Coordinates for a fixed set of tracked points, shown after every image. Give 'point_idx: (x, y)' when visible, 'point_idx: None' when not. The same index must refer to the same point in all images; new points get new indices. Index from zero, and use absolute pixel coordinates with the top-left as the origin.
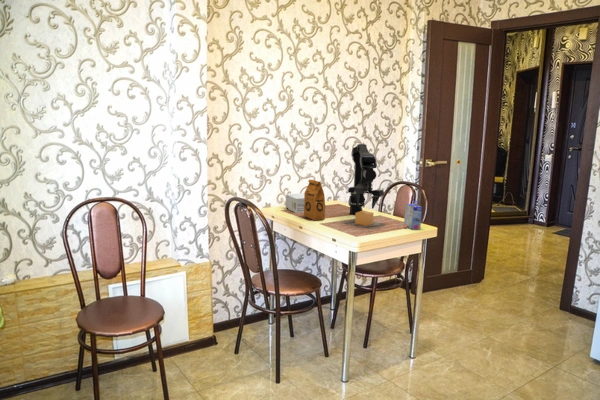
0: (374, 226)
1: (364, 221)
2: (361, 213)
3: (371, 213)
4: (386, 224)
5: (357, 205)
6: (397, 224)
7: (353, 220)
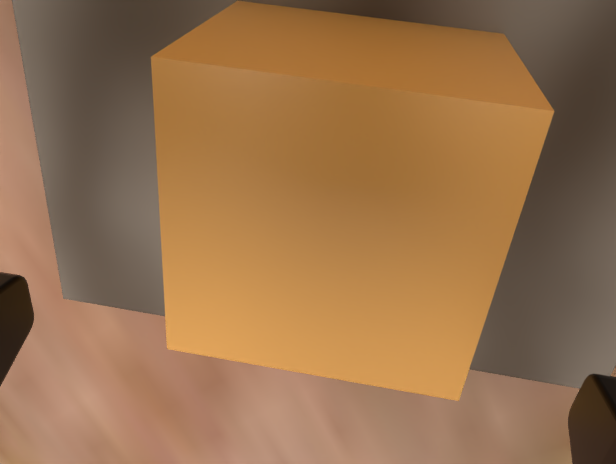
0: (101, 33)
1: (273, 24)
2: (351, 104)
3: (165, 269)
4: (61, 272)
5: (595, 396)
6: (62, 411)
7: (603, 261)
